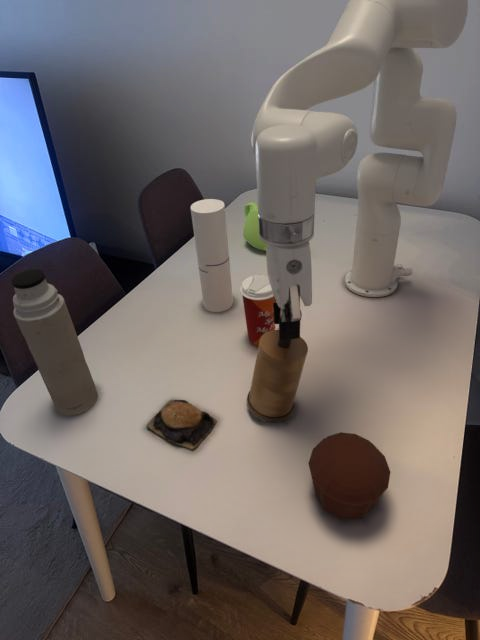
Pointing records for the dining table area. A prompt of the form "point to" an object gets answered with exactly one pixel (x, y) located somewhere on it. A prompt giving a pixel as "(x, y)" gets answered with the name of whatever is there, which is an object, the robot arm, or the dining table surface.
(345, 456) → the muffin
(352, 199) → the dining table surface
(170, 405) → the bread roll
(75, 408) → the thermos bottle
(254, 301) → the paper cup
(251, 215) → the teapot
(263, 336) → the paper towel holder
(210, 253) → the cylindrical container
